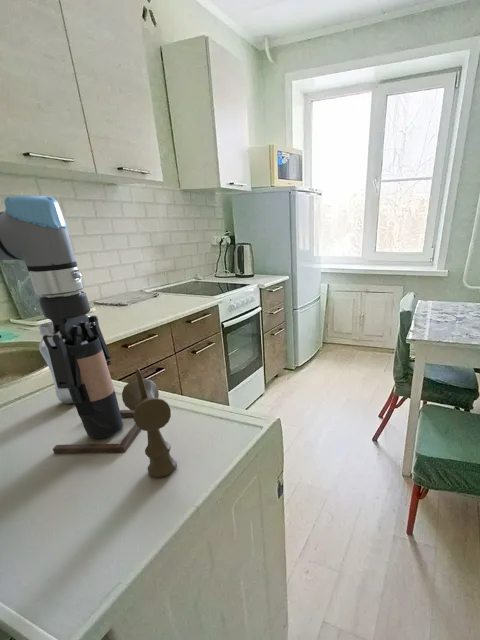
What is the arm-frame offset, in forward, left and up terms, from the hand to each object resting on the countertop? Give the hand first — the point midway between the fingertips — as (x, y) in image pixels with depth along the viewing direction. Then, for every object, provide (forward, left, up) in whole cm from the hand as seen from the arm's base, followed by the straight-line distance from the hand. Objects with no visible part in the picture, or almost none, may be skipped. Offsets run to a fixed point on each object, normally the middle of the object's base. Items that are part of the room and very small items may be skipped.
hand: (97, 404), depth 73 cm
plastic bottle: (-16, +15, -7) cm, 23 cm away
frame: (0, 0, -7) cm, 7 cm away
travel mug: (0, 0, -6) cm, 6 cm away
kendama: (+17, -13, -7) cm, 23 cm away
